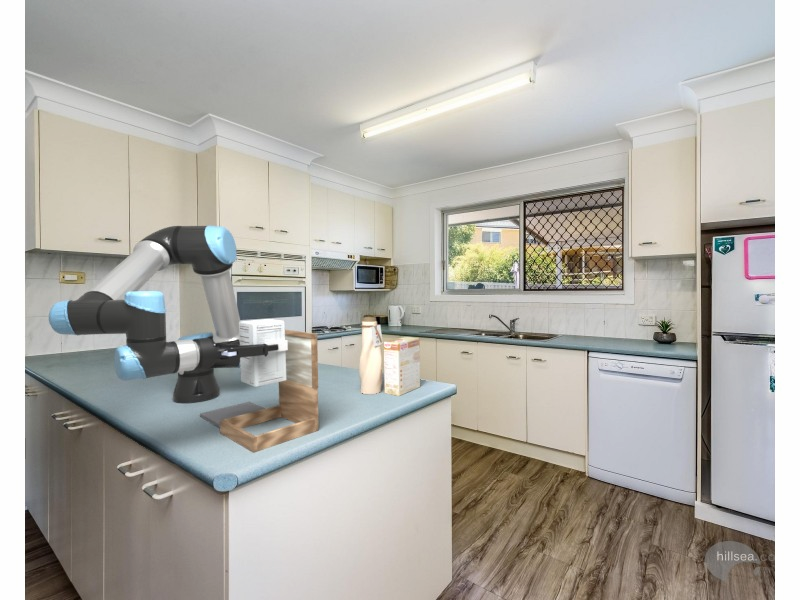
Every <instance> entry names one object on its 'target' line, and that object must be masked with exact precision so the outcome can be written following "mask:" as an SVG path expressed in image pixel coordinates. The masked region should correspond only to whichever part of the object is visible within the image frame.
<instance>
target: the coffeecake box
mask: <svg viewBox="0 0 800 600" xmlns="http://www.w3.org/2000/svg"><path fill="white" fill-rule="evenodd" d="M420 347H421V346H420V337H413V336H403V337H399V338H396V339H391V340H386V341H383V370H384V371H383V373H384V374H383V375H384V394H385V393H387V394H386V395H391V394H392V396H397V397H400V396H402V395H404V394H407V393H409V392H411V391H414V390H416V389H419V388H421V367H420V366H421V361H420V360H421V359H420V358H421V355H420V354H421V353H420V352H421V349H420Z"/></svg>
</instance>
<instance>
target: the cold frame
mask: <svg viewBox="0 0 800 600" xmlns="http://www.w3.org/2000/svg"><path fill="white" fill-rule="evenodd" d="M285 340H287V343H288V350H285V352H286V380H285V381H281V382H278V405H275V406H271V407H267V408H266V407H265V408H266V409H262V410H258V411H254V412H251V413H247V414H243V415H239V416H235V417H231V418H228V419H224V420H220V428H219V431H220V434H221V435H223V436H225V437H227V438H228V439H229V440H231V441H233V442H235V443H236V444H238V445H239V446H242V447H243V448H245V449H246V450H248V451H250V452H252V453H253V454H254V453H256V452H260V451H263V450H265V449H269V448H272V447H274V446H276V445H280V444H282V443H285V442H289V441H291V440H295V439H297V438H301V437H303V436H307V435H309V434H312V433H315V432H318V431H320V430H319V365H318V364H319V363H318V361H319V359H318V358H319V355H318V353H319V352H318V333H313V332H307V331H299V330H298V331H297V330H292V329H285ZM280 418H283V419H284V420H287V419H288V421H290V422H293V424H290V425H287V426H283V427H280V428H276V429H273V430H270V431H267V432H264V433H261V434H257V435H254V434H252V433H250V432H248V431H246V430H245V429H243V428H248V427H250V426H251V427H252V426H254V425H258V424H260V423H264V422H265V423H266V422H269V421H271V420H275V419H280Z"/></svg>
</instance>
